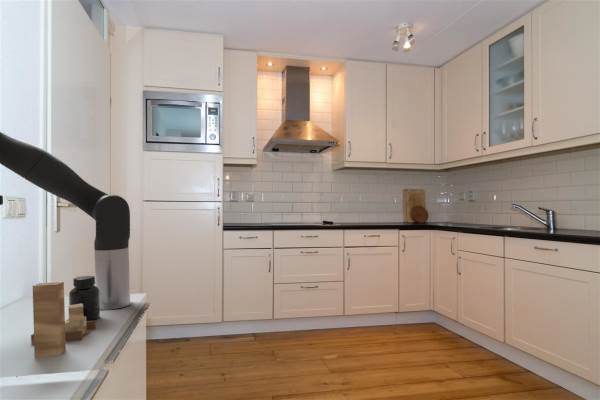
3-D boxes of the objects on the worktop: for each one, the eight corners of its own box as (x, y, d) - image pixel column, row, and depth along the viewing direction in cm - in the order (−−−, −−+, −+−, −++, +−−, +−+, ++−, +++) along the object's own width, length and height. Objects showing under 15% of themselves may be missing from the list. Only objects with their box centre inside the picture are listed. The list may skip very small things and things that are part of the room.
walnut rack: (51, 336, 90) (50, 323, 90) (96, 333, 91) (95, 320, 91) (31, 349, 82) (30, 335, 82) (81, 345, 83) (80, 331, 83)
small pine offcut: (68, 318, 87) (68, 305, 87) (82, 316, 89) (82, 303, 89) (68, 322, 84) (68, 308, 84) (83, 319, 86) (83, 306, 86)
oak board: (41, 358, 77) (39, 283, 77) (65, 356, 77) (63, 281, 77) (34, 363, 74) (32, 285, 74) (59, 361, 75) (57, 284, 75)
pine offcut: (71, 332, 88) (71, 317, 88) (86, 331, 88) (86, 316, 88) (63, 338, 84) (62, 322, 84) (78, 337, 84) (78, 321, 84)
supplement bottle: (65, 330, 94) (64, 281, 94) (74, 321, 101) (72, 276, 101) (96, 326, 96) (95, 278, 96) (103, 318, 102) (101, 273, 102)
